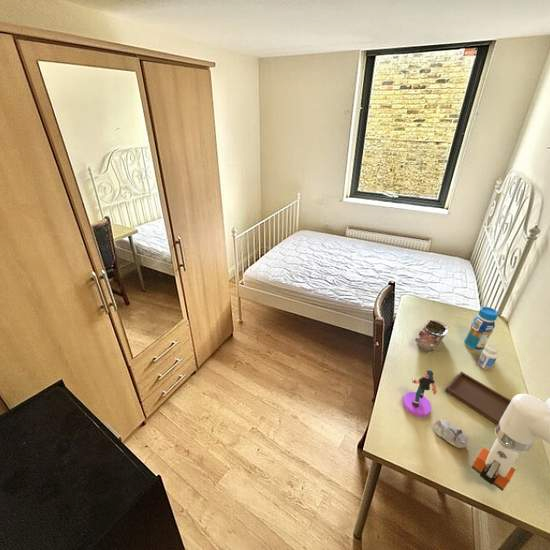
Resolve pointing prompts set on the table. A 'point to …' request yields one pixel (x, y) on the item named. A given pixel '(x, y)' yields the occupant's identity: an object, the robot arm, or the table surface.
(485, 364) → the pill bottle
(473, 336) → the blue lidded jar
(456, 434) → the stone
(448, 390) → the tray
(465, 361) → the table surface
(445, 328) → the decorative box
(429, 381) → the figurine
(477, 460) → the orange rectangular block
